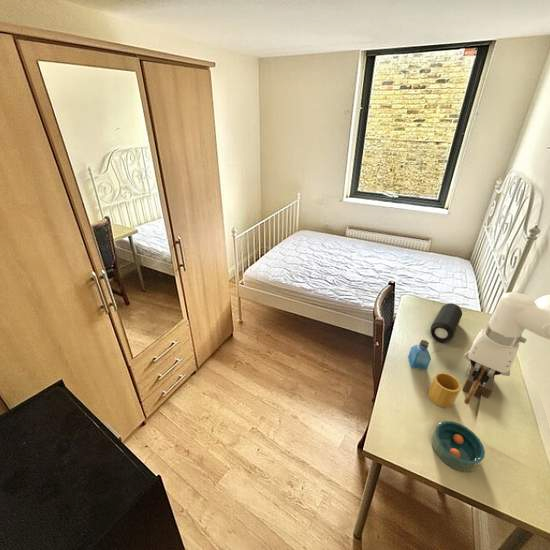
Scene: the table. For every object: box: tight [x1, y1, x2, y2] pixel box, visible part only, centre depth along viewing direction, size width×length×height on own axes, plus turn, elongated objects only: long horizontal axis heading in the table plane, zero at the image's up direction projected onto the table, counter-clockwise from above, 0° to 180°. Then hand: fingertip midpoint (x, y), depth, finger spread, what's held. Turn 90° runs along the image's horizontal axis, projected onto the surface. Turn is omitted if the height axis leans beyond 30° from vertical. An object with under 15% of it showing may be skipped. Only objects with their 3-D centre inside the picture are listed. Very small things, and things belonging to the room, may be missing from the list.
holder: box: [461, 363, 496, 400], centre depth 116 cm, size 8×13×6 cm, turn 142°
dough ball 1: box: [453, 434, 464, 445], centre depth 95 cm, size 3×3×3 cm
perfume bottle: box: [407, 339, 432, 370], centre depth 124 cm, size 6×6×12 cm
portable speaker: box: [429, 302, 463, 343], centre depth 145 cm, size 26×10×10 cm, turn 141°
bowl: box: [431, 420, 486, 473], centre depth 93 cm, size 14×14×5 cm
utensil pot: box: [427, 371, 463, 409], centre depth 109 cm, size 9×9×9 cm
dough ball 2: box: [449, 448, 460, 458], centre depth 91 cm, size 3×3×3 cm
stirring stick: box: [464, 366, 487, 405], centre depth 92 cm, size 1×1×16 cm
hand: (478, 379), depth 90 cm, fingers closed on stirring stick, 1 cm apart
